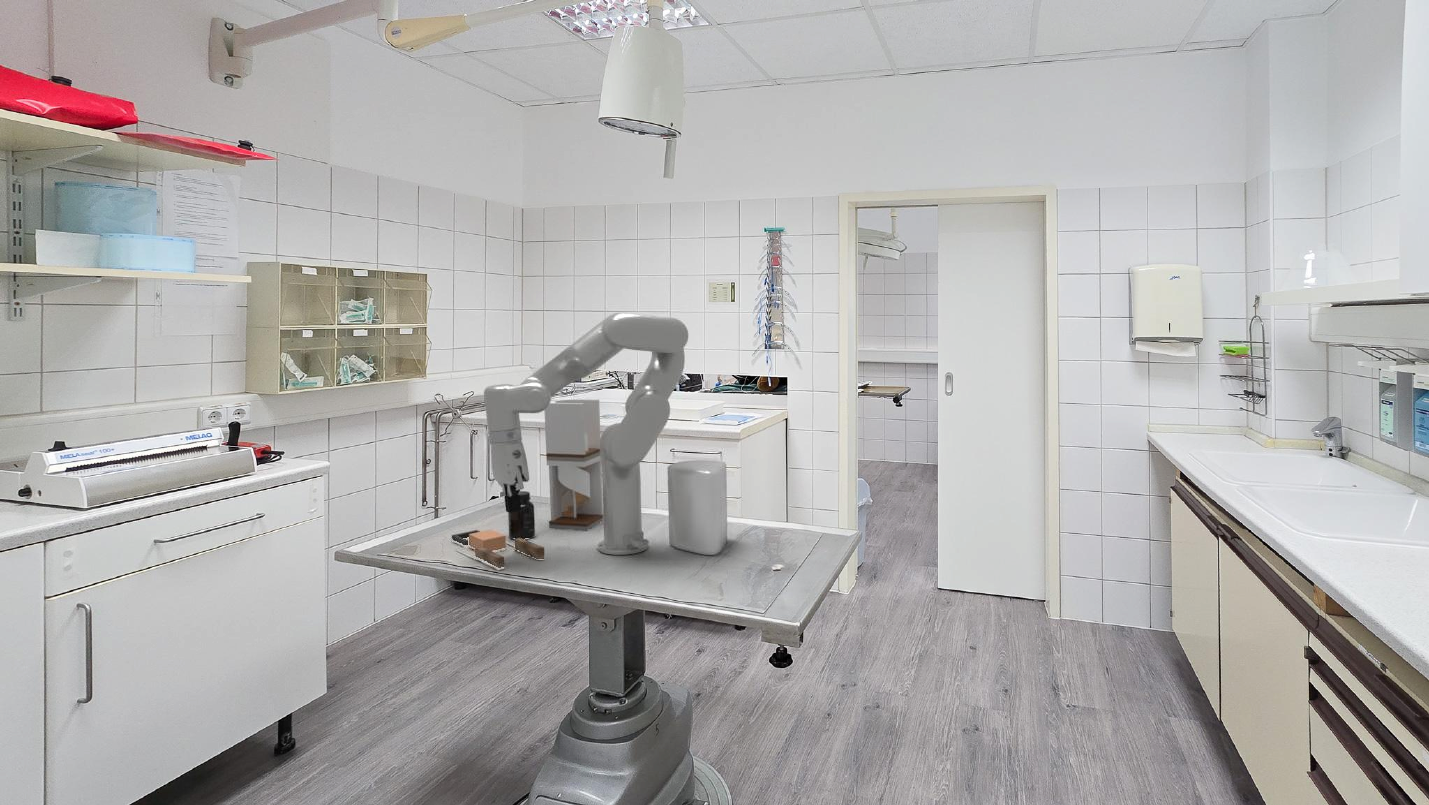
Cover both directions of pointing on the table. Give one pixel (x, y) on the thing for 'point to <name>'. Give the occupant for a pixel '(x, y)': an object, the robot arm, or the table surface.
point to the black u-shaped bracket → (463, 535)
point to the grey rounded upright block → (697, 506)
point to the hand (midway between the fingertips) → (513, 511)
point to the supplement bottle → (522, 519)
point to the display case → (574, 463)
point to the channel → (520, 545)
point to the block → (487, 540)
